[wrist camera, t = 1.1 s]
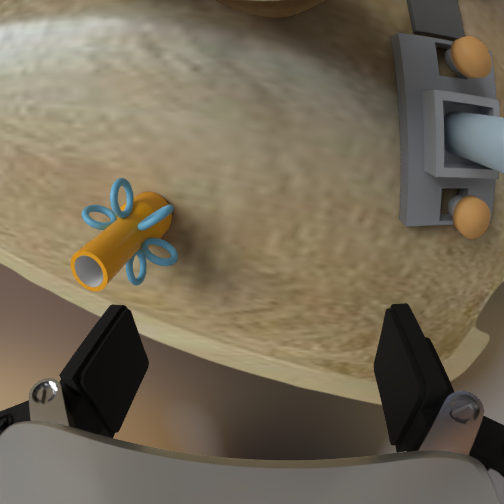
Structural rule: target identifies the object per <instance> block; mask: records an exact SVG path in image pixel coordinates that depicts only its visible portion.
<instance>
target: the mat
mask: <svg viewBox="0 0 504 504" xmlns="http://www.w3.org/2000/svg"><path fill="white" fill-rule="evenodd" d="M407 4H408V9H409V14H410V19H411V24H412V30H413V32H415V33H422V34H428V35H434V36H439V37H444V38H449V39H454V40H456V39H459V38H462V37H465V35H464V30H463V25H462V20H461V15H460V11H459V6H458V2H457V0H407Z"/></svg>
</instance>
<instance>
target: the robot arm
mask: <svg viewBox="0 0 504 504" xmlns="http://www.w3.org/2000/svg"><path fill="white" fill-rule="evenodd" d="M148 364H149V361H148V358H147V355H146V353H145V350H144V347H143V344H142V342H141V339H140V336H139V333H138V330H137V327H136V325H135V322H134V319H133V316H132V313H131V311H130V310H129V309H127V307H126V306H125V305H110V306H109V308H108V309H107V310H106V312H105V313H104V314H103V315H102V317H101V318H100V320H99V321H98V322H97V323H96V325H95V326H94V327H93V329H92V330H91V332H90V333H89V334H88V336H87V337H86V338H85V340H84V341H83V342H82V344H81V345H80V347H79V348H78V349H77V351H76V352H75V354H74V355H73V356H72V358H71V359H70V361H69V362H68V363H67V365H66V367H65V368H64V369H63V371H62V372H61V374H60V375H59V376H60V377H61V380H60V382H58V381H57V380H56V379H53V378H46V379H42V380H40V381H38V382H37V383H36V384H35V385H34V386H33V387H32V388H31V390H30V393H29V400H28V401H26V402H23V403H21V404H18V405H16V406H13V407H11V408H8V409H6V410H3V411H0V504H504V425H502V424H500V423H498V422H496V421H494V420H492V419H489V418H487V417H485V416H483V414H484V408H483V404H482V402H481V401H480V399H478V397H477V396H475V395H474V394H472V393H470V392H466V391H457V392H454V390H453V388H452V385H451V383H450V381H449V378H448V376H447V374H446V372H445V369H444V367H443V365H442V363H441V361H440V359H439V356H438V354H437V352H436V350H435V348H434V346H433V344H432V342H431V340H430V339H429V338H425V336H424V334H423V332H422V330H421V328H420V326H419V324H418V322H417V320H416V318H415V316H414V314H413V312H412V310H411V308H410V307H409V305H408V304H407V303H403V304H392V305H391V308H389V309H386V312H385V317H384V322H383V327H382V331H381V336H380V340H379V345H378V349H377V353H376V357H375V361H374V373H375V377H376V381H377V385H378V389H379V393H380V397H381V402H382V406H383V410H384V415H385V420H386V424H387V429H388V434H389V439H390V443H391V445H395V446H396V451H397V453H393V454H384V455H376V456H368V457H357V458H344V459H328V460H305V461H275V460H249V459H233V458H222V457H213V456H204V455H196V454H188V453H182V452H175V451H169V450H163V449H158V448H153V447H148V446H143V445H139V444H134V443H130V442H125V441H121V440H117V439H113V437H114V434H115V433H116V432H118V431H119V430H120V428H121V426H122V424H123V421H124V419H125V417H126V415H127V412H128V410H129V408H130V406H131V404H132V401H133V399H134V397H135V395H136V393H137V390H138V388H139V386H140V384H141V382H142V380H143V378H144V375H145V373H146V371H147V369H148ZM403 451H407V452H403ZM398 452H402V453H398Z"/></svg>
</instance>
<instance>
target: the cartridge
mask: <svg viewBox="0 0 504 504" xmlns="http://www.w3.org/2000/svg"><path fill="white" fill-rule="evenodd" d="M444 147H445V148H446V150H448V151H449V152H450V153H452V154H455V155H458V156H460V157H463V158H466V159H469V160H471V161H474V162H476V163H479V164H481V165H484V166H486V167H489V168H491V169H494V170H496V171H498V172H501V173H503V174H504V118H502V117H496V116H489V115H482V114H474V113H465V112H450V113H448V114H446V115H445V116H444Z"/></svg>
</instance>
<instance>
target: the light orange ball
mask: <svg viewBox="0 0 504 504" xmlns="http://www.w3.org/2000/svg"><path fill="white" fill-rule="evenodd" d="M445 62H446V64H447V66H448V67H449V68H450V69H451V70H452V71H454V72H460V73H461V74H463V75H464V76H466V77H469V78H483V77H486V76H487V75H488V74H489V73H490V71H491V67H492V60H491V56H490V53H489V51H488V49H487V48H486V46H485V45H484V44H483V43H482V42H481V41H480V40H479V39H477V38H475V37H473V36H465V37H462V38H459V39H456V40H455V41H454V42H453V43H452V45H451V49H448V50H447V51H446V52H445Z"/></svg>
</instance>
